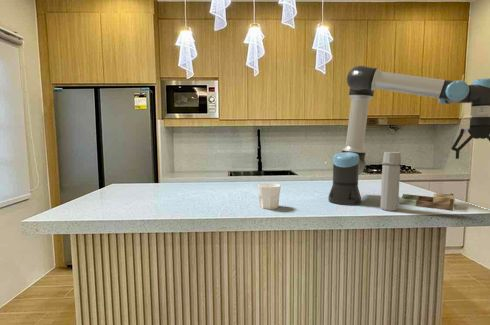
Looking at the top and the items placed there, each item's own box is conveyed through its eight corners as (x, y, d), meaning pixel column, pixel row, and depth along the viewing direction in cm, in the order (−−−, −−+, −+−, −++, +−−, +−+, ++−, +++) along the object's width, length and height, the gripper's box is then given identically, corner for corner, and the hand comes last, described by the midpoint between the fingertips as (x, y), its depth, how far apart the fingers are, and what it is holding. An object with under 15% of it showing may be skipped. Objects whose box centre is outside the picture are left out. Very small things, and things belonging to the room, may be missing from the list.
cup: (254, 208, 134) (255, 186, 133) (261, 203, 143) (261, 182, 142) (277, 210, 130) (277, 187, 129) (282, 205, 140) (282, 184, 138)
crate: (432, 207, 138) (433, 195, 137) (433, 203, 144) (434, 192, 144) (453, 210, 133) (454, 197, 133) (454, 206, 140) (455, 194, 139)
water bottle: (401, 212, 128) (404, 153, 126) (381, 211, 130) (384, 152, 127) (395, 206, 137) (398, 151, 135) (376, 205, 139) (379, 151, 136)
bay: (398, 204, 143) (399, 193, 142) (402, 198, 154) (403, 188, 154) (452, 210, 131) (453, 199, 130) (452, 204, 142) (453, 193, 142)
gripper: (446, 117, 132) (443, 166, 134) (521, 115, 118) (516, 170, 120) (447, 117, 138) (443, 164, 140) (517, 116, 124) (513, 168, 127)
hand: (477, 167), depth 130 cm, fingers open, 12 cm apart
